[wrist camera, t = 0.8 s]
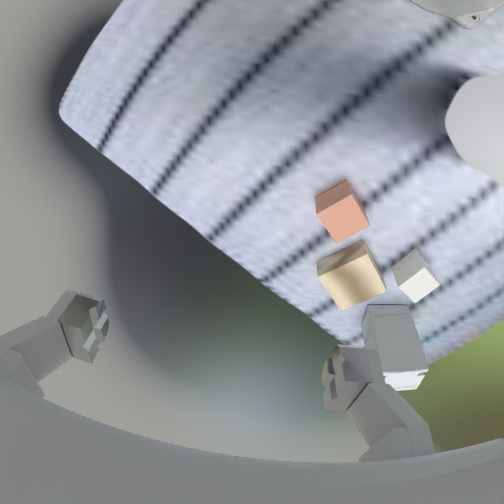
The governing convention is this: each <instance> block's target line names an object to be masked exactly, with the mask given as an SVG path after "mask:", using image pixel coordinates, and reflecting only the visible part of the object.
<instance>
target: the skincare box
mask: <svg viewBox="0 0 504 504" xmlns="http://www.w3.org/2000/svg"><path fill="white" fill-rule="evenodd" d="M362 333H363V338H364V344H365V347H369V348H375V349H376V350H377V352H378V356H379V360H380V363H381V367H382V371H383V375H384V379H385V383H386V384H390V385H391V386H392V387H393V388H394V389H395V390H396V391H399V390H410V389H416V388H417V387H418V385H419V384H420V383H421V381H422V379H423V378H424V376H425V374H426V373H427V371H428V365H427V362H426V359H425V355H424V352H423V349H422V346H421V342H420V339H419V336H418V333H417V330H416V327H415V324H414V321H413V319H412V316H411V313H410V310H409V307H408V305H368V306H367V310H366V313H365V317H364V320H363V323H362Z"/></svg>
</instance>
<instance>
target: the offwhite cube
mask: <svg viewBox="0 0 504 504" xmlns="http://www.w3.org/2000/svg"><path fill="white" fill-rule="evenodd" d="M392 269H393V272H394V275H395V278H396V282H397V285H398V287H399V288H400V289H401V290H402V291H403V292H404V293H405V294H406V295H407V296H408V297H409V298H410V299H411V300H412V301H413V302H414V303H416V302H417V301H419V300H420V299H422V298H423V297H424V296H426V295H427V294H428V293H430V292H431V291H432V290H434V289H435V288H436V287H438V286H439V285H440V284H439V282H438V280H437V278H436V275H435V273H434V271H433V269H432V267H431V265H430V264H429V263H428V262H427V260H426V259H425V258H424V257H423V256H422V255H421V254H420V253H419V251H418V250H417V249H416V248H414V249H413V250H412V251H411V252H410V253H408V254H407V255H406V256H405V257H403V258H402V259H401V260H400V261H399V262H397V263H396V264H395V265H394V266H392Z"/></svg>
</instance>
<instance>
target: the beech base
mask: <svg viewBox="0 0 504 504" xmlns="http://www.w3.org/2000/svg"><path fill="white" fill-rule="evenodd" d="M317 273H318V278H319V280H320V281H321V282H322V284H323V285H324V287H325V288H326V290H327V291H328V292H329V294H330V295H331V297H332V298H333V299H334V301H335V302H336V304H337V305H338V307H339V308H340V310H344V309H346V308H349V307H351V306H353V305H356V304H358V303H361V302H363V301H365V300H368V299H370V298H372V297H375V296H377V295H379V294H381V293H384V292H386V291H387V290H386V286H385V283H384V279H383V276H382V274H381V272H380V270H379V268H378V266H377V264H376V262H375V260H374V258H373V256H372V255H371V253H370V251H369V249H368V247H367V245H366V244H365V242H364V240H361V241H359V242H357V243H355V244H353V245H351V246H349V247H347V248H345V249H343V250H341V251H339V252H337V253H335V254H332V255H330V256H328V257H326V258H324V259H322V260H320V261H318V262H317Z"/></svg>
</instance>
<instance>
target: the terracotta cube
mask: <svg viewBox="0 0 504 504" xmlns="http://www.w3.org/2000/svg"><path fill="white" fill-rule="evenodd" d="M315 201H316V214H317V215H318V217H319V218H320V220H321V221H322V223H323V224H324V226H325V227H326V229H327V230H328V231H329V233H330V234H331V236H332V237H333V239H334V240H335V242H336V243H338V242H340V241H342V240H343V239H345V238H347V237H349V236H351V235H353V234H355V233H357V232H359V231H361V230H363V229H365V228H366V227H368V226H370V224H369V221H368V219H367V216H366V213H365V210H364V208H363V206H362V204H361V203H360V201H359V199H358V198H357V196H356V194H355V193H354V191H353V189H352V188H351V186H350V184H349V183H348V181H347V180H345V181H343V182H341V183H339V184H338V185H336V186H334V187H332V188H331V189H329V190H327V191H325V192H324V193H322V194H320V195H318V196H317V197H315Z"/></svg>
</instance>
